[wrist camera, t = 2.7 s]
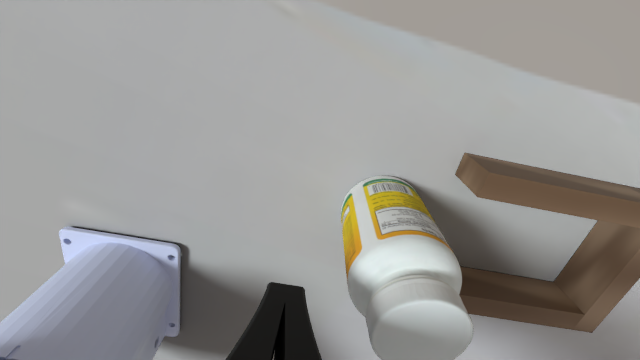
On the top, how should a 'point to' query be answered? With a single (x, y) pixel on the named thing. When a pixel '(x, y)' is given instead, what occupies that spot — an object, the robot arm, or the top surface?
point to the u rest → (584, 266)
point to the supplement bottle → (402, 273)
